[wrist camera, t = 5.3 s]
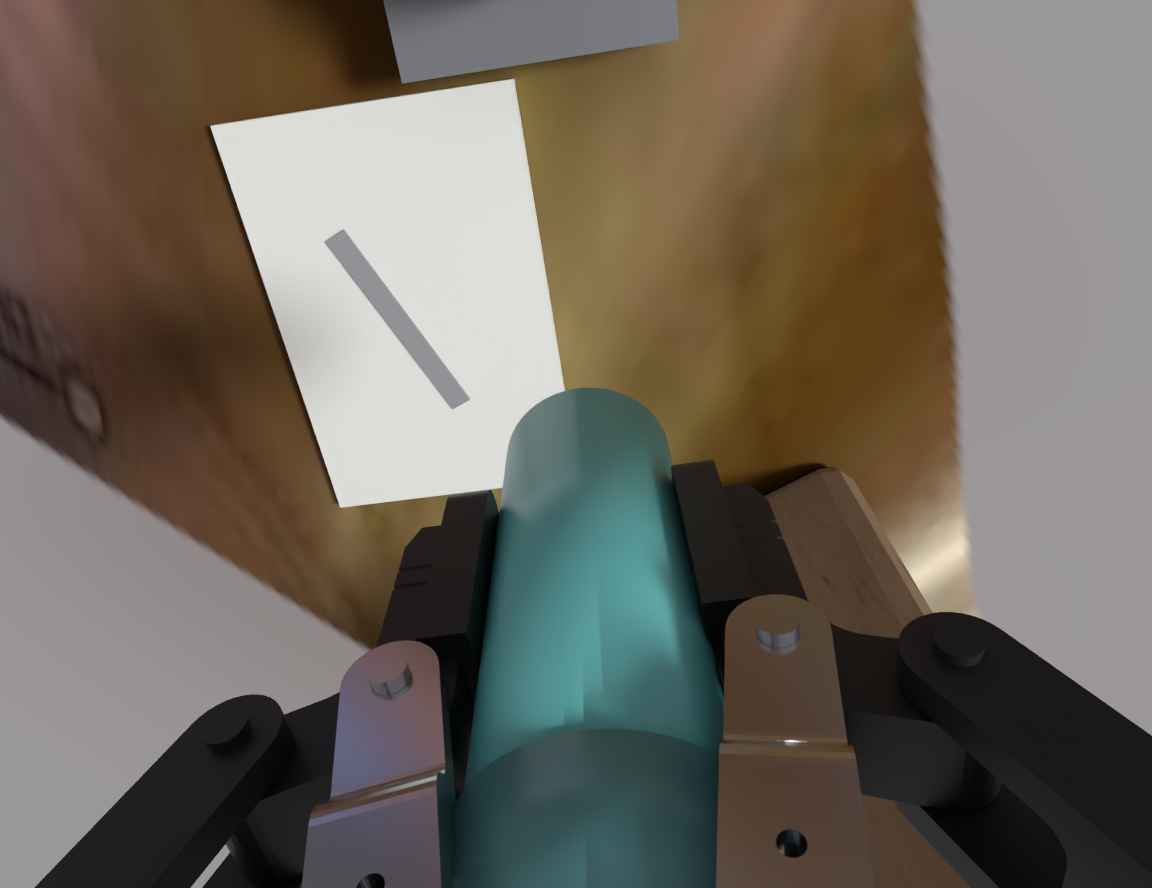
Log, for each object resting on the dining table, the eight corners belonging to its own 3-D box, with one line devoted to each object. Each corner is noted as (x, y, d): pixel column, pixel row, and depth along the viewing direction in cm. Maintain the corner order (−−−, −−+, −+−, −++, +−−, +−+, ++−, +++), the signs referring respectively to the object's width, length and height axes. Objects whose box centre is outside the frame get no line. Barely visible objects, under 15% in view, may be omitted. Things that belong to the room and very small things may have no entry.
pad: (215, 124, 26) (209, 126, 26) (514, 77, 26) (513, 79, 25) (342, 502, 33) (339, 509, 33) (578, 473, 33) (578, 479, 32)
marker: (485, 396, 15) (373, 960, 6) (665, 371, 15) (810, 918, 6) (519, 541, 17) (467, 1145, 8) (681, 519, 16) (812, 1118, 8)
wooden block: (836, 449, 32) (1151, 974, 15) (921, 609, 36) (1245, 1168, 19) (623, 554, 35) (678, 1109, 17) (726, 694, 39) (853, 1255, 22)
